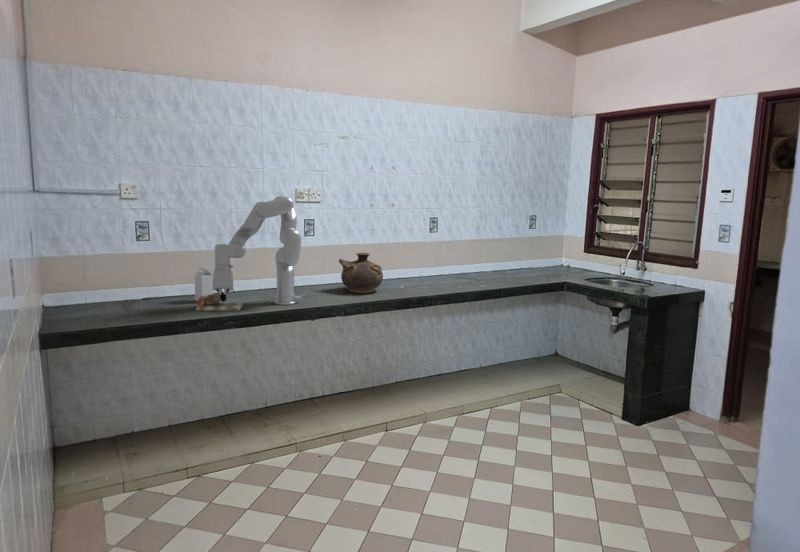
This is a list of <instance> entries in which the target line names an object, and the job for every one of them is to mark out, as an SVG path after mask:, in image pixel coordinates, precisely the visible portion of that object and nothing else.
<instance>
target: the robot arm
mask: <svg viewBox="0 0 800 552" xmlns="http://www.w3.org/2000/svg"><path fill="white" fill-rule="evenodd" d="M294 206H295V204H294V201H293V199H292V198H290V196H289V197H288V196H284V195H279V196H278V195H277V196H276V197H275V198H273V200H270V201H258V202H256V203H255V205H254V206H253V208H252V209H251V211H250V213H248V216H247V217H246V219H245V221H244V222H243V224H241V226H240V227H239V228H238V229H237V231H236V232H235V233H234V235H233V236H232V238H231V240H230V241H229V243H228V244H227V243H218V244H215V246H214V268H215V269H214V270H213V274H212V275H213V289H212V290H213V292H217V294H220V303H226V302H225V301H227V294H228V293H229V292H231V291H233V290H234V276H233V270H232V268H233V267H234V266H233V265H232V264H231V258H233V259H241V258H243V257H244V256H245V255H246V252H247V251H246V248H245V245H246V242H247V241H248V240H249V239H250V238H251V237H253V236H254V235H256V234H257V233H258V232H259V231H260V229H261V227H262V226H263V224H264V222H265V220H266V219H269V218H274V217H277V216H280V228H279V229H280V230H279V235H278V237H279V241H280V243H281V244H283V247H280V248H279V249H277V251H276V252H275V257H274V258H275V264H276V299H274V300H273V303H274V304H276V305H282V306H283V305H284V306H285V305H286V306H289V305H295V304H296V303H297V300H298V301H301V300H303V296H301V295H296V294H295V268H294V266H296V265H297V264H298V262H299V260H300V256H301V255H300V254H301V247H302V236H301V233H300V232H299V231H297V212H296V210H295V208H294Z"/></svg>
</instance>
